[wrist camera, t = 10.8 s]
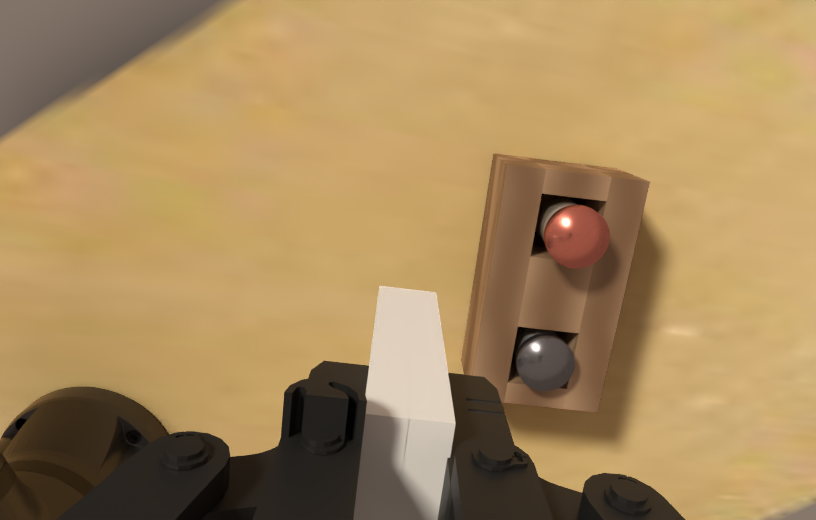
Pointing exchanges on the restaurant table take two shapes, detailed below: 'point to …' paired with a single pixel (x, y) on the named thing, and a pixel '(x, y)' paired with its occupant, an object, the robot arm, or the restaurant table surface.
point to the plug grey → (542, 359)
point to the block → (549, 278)
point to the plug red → (571, 231)
